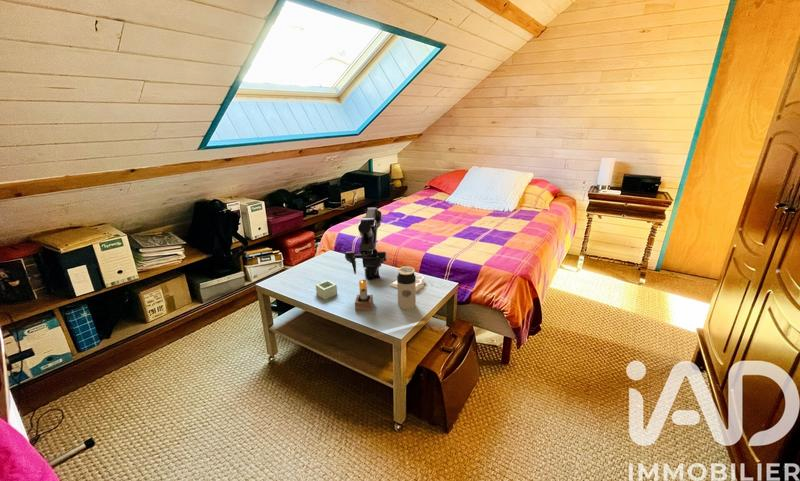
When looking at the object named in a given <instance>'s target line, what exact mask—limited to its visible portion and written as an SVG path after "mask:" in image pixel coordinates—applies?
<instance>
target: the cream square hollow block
mask: <svg viewBox="0 0 800 481" xmlns="http://www.w3.org/2000/svg"><path fill="white" fill-rule="evenodd" d="M315 290H316V295H317V296H319V297H320V298H321V299H323V300H327V299H330V298H331V297H334V296H336V295H338V286H337V284H336V283H334V282H332V281H331V280H329V279H327V280H325V281H322V282H320V283H317V284H315Z"/></svg>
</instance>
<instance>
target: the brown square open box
mask: <svg viewBox="0 0 800 481" xmlns="http://www.w3.org/2000/svg"><path fill="white" fill-rule="evenodd" d="M373 296H374V295H373V294H367V298H368V302H360V294H356V297H355V300H354V311H355V312H372V309H373V305H374V297H373Z"/></svg>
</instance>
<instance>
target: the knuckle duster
mask: <svg viewBox="0 0 800 481" xmlns="http://www.w3.org/2000/svg"><path fill="white" fill-rule="evenodd" d="M414 275H415V274H414ZM415 276H416V293H417V292H418V291H419V290H422V288H423V287H425V285H424V284H425V276H423V275H419V274H416V275H415ZM422 284H423V285H422ZM389 286H390V287H392V288H395V289H398V287H397V279H396V280H395V281H393V282H392V283H390V284H389Z"/></svg>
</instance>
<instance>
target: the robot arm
mask: <svg viewBox="0 0 800 481" xmlns="http://www.w3.org/2000/svg"><path fill="white" fill-rule="evenodd" d="M382 221H383V214H382V211H381V210H378V207H367V211H365V216H363V217H362V218H361V219H360V220H359V223H358V226H357V228H358V232H359V235H360V243H359V244H358V252H359V253H355V251H346V252H345V254H344V258H345V260H346V261H347V262H349V264H351V265H352V269H353V274H354V275H356V274H357V262H356V259H362V261H361V262H362V267H363V269H364V277H365V278H366V279H367V280H368V281H371V280H376V279H380V278H381V276H380V272H379V271H380V268H381V267H382V264H384V263H385V262H387V260H388V257H387V252H386V251H378V250H377V240H378V239H377V238H378V229H379V228H380V226H381V224H382V223H381V222H382Z"/></svg>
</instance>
